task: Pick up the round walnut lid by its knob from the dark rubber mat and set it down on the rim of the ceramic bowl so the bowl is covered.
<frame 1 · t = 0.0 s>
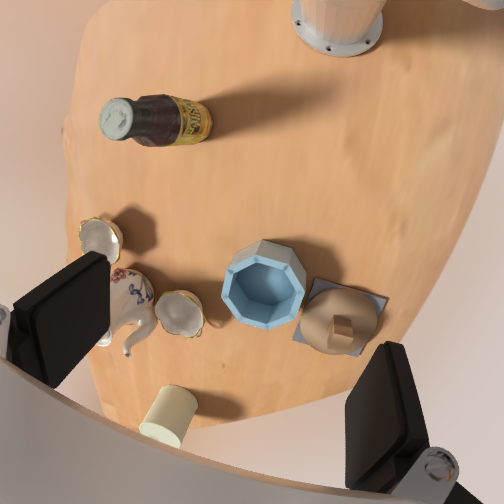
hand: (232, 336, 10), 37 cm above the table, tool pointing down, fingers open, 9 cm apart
mat: (338, 319, 51), on the table
sauce bottle: (194, 122, 44), on the table
bowl: (268, 276, 50), on the table
can: (178, 398, 66), on the table
chinaware: (142, 278, 55), on the table
lid: (338, 321, 50), point 1 cm above the table, touching mat
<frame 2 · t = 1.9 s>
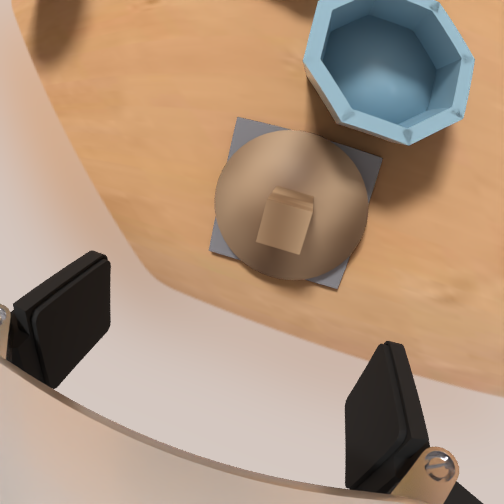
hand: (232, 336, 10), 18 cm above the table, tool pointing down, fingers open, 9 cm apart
mat: (291, 204, 27), on the table
bowl: (379, 70, 21), on the table
lid: (291, 205, 26), point 1 cm above the table, touching mat
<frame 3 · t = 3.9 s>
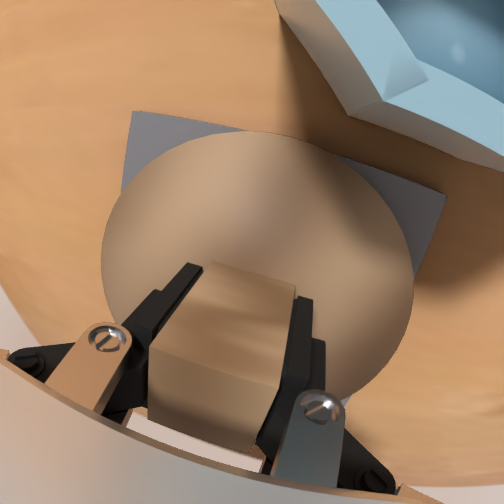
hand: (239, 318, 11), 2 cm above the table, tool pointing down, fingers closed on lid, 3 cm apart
mat: (251, 287, 13), on the table
bowl: (433, 9, 8), on the table
lid: (249, 294, 13), point 1 cm above the table, touching gripper, mat
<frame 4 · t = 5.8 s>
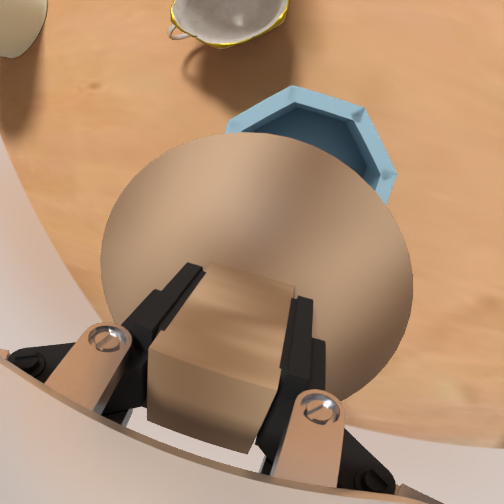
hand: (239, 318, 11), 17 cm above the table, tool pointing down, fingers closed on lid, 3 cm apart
bowl: (305, 168, 25), on the table
can: (23, 23, 23), on the table
lid: (248, 295, 13), point 15 cm above the table, touching gripper
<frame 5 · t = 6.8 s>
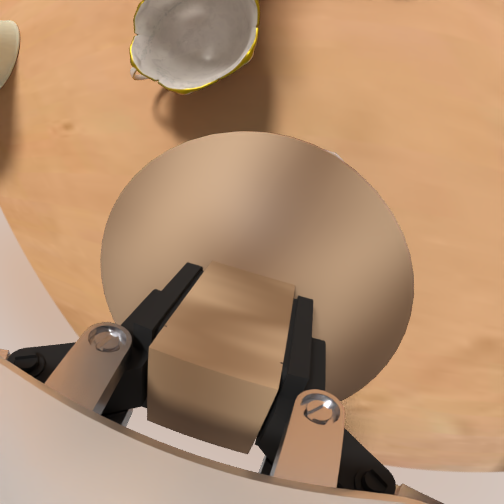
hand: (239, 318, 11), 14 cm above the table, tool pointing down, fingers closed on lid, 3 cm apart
lid: (249, 295, 13), point 12 cm above the table, touching gripper
when the fingers open (9 cm above the table, at t = 7.7 s): lid drops 2 cm, resting on bowl.
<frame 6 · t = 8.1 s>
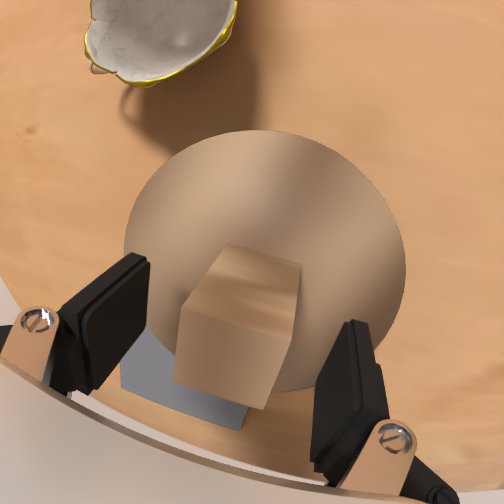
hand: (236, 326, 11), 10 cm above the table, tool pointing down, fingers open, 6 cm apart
mat: (185, 364, 25), on the table
lid: (259, 275, 14), point 6 cm above the table, touching bowl
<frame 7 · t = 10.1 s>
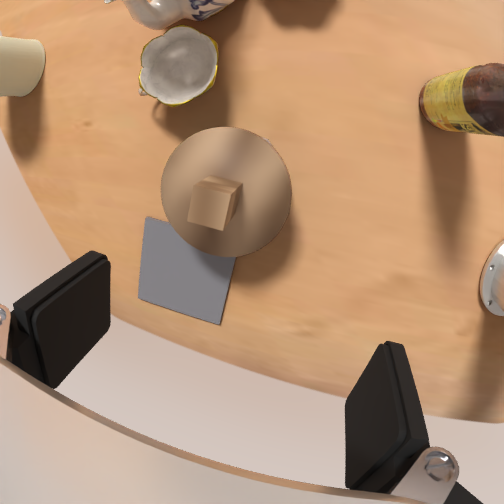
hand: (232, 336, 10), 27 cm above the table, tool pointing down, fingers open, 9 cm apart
mat: (184, 271, 41), on the table
sauce bottle: (441, 103, 29), on the table
can: (26, 67, 33), on the table
chinaware: (220, 1, 28), on the table
lid: (225, 192, 30), point 6 cm above the table, touching bowl
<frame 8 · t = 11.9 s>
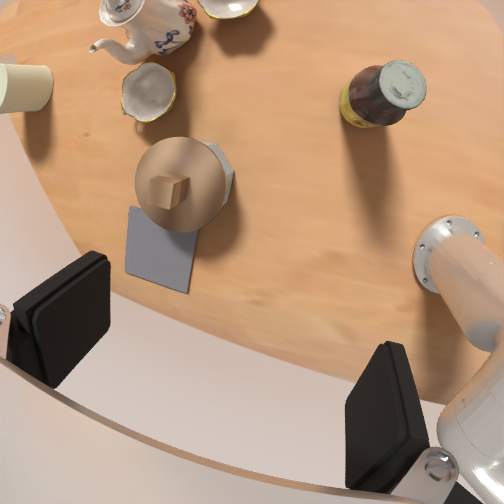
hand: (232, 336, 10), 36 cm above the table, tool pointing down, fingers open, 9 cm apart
mat: (159, 249, 52), on the table
sauce bottle: (361, 105, 38), on the table
bowl: (195, 177, 46), on the table
can: (38, 88, 45), on the table
chinaware: (183, 37, 39), on the table
lid: (179, 184, 41), point 6 cm above the table, touching bowl
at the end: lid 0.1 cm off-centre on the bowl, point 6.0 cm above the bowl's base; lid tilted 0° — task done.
